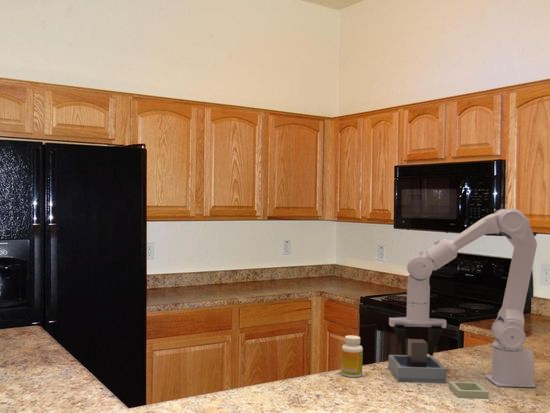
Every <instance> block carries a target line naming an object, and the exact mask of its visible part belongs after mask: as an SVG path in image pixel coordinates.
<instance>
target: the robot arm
mask: <svg viewBox="0 0 550 413" xmlns="http://www.w3.org/2000/svg"><path fill="white" fill-rule="evenodd" d="M491 234H493V235H494V234H501V235H503V236H504V237H506V239H507V240H508V242H509V243H510V244H511V246H512V247H513V251H512V255H511V262H510V265H509V271H508V277H507V281H506V287H505V289H504V295H503V301H502V305H501V307H500V309H499V311H498V312H497V317H496V319H495V320H494V321H493V323H492V325H491V334H492V336H493V337H494V341H493V342H492V344H491V345H492V347H491V349H492V350H491V374H485V375H484V376H485V378H487V380H489V381H490V382H491V383H493V384H494V385H495V386H497V387H509V388H511V387H513V388H516V387H517V388H535V387H536V385H535V383H534V382H535V381H534V377H535V357H534V354H533V351H532V350H531V349H530V348H527V347H524V344H525V342H526V333H525V317H524V316H525V315H524V310H525V306H526V300H527V295H528V291H529V285H530V281H531V276H532V270H533V267H534V261H535V258H536V257H535V256H536V252H537V248H538V247H537V246H538V242H537V240H536V237H535V235H534V233H533V230H532V227H531V223H530V219H529V218H528V217H527V216H526V215H525V214H524V212H522V211H521V210H519V209H516V208H500V209H498V210H496V211H495V212H494V213H491V214H488V215H486V216H484V217H482V218H481V219H479V220H478V221H476V222H475V223H473V224H472V225H470V226H468V227H467V228H466V229H465V230H463V231H462V232H460V233H459V234H457V235H455V237H453V238H452V239H447V238H442V239H436V240H435V241H434V242H433V243H434V244H433V245H431V246H430V247H428V248H426V249H425V250H424V251H423V250H420V251H419V252H418V254H419V255H417V256H415V255H414V256H413V257H412V258H410V259H409V260H408V263H407V265H406V269H407V272H408V273H409V274H408V276H407V282H408V283H407V284H406V285H407V287H406V288H407V290H406V316H402V317H401V316H400V317H388V325H389V326H390V327H391V328H392V327H393V331H394V332H395V335H396V337H397V340H398V346H399V351H400V352H399V353H400V355H406V338H407V330H406V327H413V328H414V327H418V328H419V327H420V328H427V333H428V334H427V335H428V342H427V355H428V356H433V357H434V352H435V349H436V346H437V343H438V341H439V339H440V337H441V336H442V334H443V329H447V320H446V319H445V318H444V319H443V318H431V317H430V301H431V300H430V298H431V297H430V294H431V293H430V292H431V285H430V277H431V275H432V273H433V271H437V270H439V269H440V268H442V267H444V266H445V265H446V264H448V263H449V262H452V261H453V260H455V259H456V258H457V256H458V251H459V250H461V249H462V248H464V247H466V246H468V245H469V244H471V243H473V242H475V241H476V240H478V239H479V238H481V237H483V236H485V235H491ZM442 328H443V329H442Z"/></svg>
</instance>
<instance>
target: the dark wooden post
mask: <svg viewBox="0 0 550 413" xmlns="http://www.w3.org/2000/svg"><path fill="white" fill-rule="evenodd" d="M427 356H428V342H427V341H426V340H425V339H423V338H421V339H420V338H419V339H418V338H407V367H427Z"/></svg>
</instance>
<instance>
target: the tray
mask: <svg viewBox="0 0 550 413" xmlns="http://www.w3.org/2000/svg"><path fill="white" fill-rule="evenodd" d="M407 355H408V354H407ZM407 355H406V354H405V355H402V354H388V362H387V363H388V364H387V368H388V369H389V371H390V372H391V373H392V375H393V376H394V378H395V380H397V382H398V383H429V384H430V383H433V384H435V383H436V384H446V383H447V368H446V367H445V366H444V365H443V364H441V362H440V361H438V359H437V358H435V357H434V355H433V356H430V355H427V367H407Z"/></svg>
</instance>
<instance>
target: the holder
mask: <svg viewBox="0 0 550 413" xmlns="http://www.w3.org/2000/svg"><path fill="white" fill-rule="evenodd" d="M448 389H449V390H450V391H451V392H452V393H453V394H454V395H455V396H456V397H457V398H461V399H462V398H463V399H464V398H465V399H466V398H467V399H489V398H490V397H489V393H490V392H489V391H488V390H487V389H486V388H485V387H484V386H482V384H481V383H479V382H477V381H476V382H475V381H449V380H448Z"/></svg>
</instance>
